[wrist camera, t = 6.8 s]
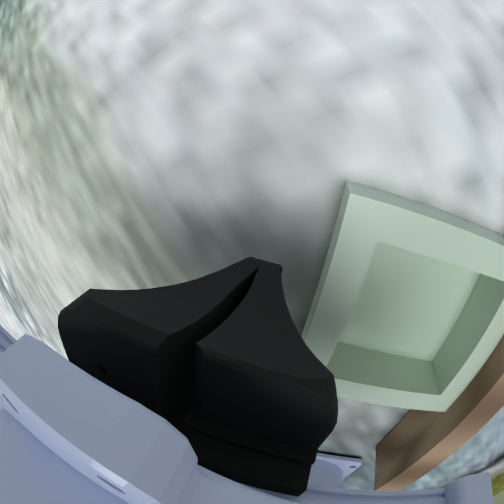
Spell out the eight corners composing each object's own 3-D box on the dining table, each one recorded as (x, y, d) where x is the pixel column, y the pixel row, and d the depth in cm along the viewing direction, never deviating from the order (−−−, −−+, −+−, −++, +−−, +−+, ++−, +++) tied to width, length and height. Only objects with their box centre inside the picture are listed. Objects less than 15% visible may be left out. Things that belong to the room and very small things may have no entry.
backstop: (398, 447, 15) (398, 491, 12) (376, 445, 16) (373, 491, 12) (553, 181, 7) (605, 204, 3) (530, 165, 7) (586, 183, 3)
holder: (435, 372, 12) (444, 411, 10) (297, 343, 14) (287, 385, 11) (506, 236, 9) (539, 262, 6) (345, 179, 10) (349, 193, 8)
